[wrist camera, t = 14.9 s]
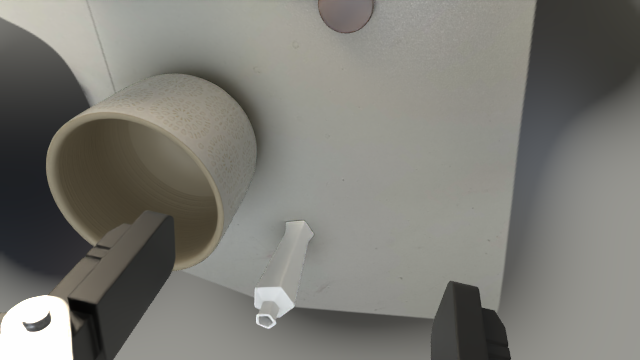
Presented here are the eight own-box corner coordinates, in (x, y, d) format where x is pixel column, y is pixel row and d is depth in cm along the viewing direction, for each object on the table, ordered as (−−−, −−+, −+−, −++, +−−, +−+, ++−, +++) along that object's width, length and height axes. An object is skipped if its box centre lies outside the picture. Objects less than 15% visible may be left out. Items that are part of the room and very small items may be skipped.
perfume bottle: (315, 249, 61) (287, 341, 48) (282, 242, 62) (246, 332, 49) (318, 220, 59) (289, 309, 46) (284, 214, 59) (246, 301, 46)
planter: (104, 100, 55) (8, 162, 43) (211, 28, 48) (134, 75, 36) (193, 209, 61) (133, 291, 49) (299, 158, 55) (261, 238, 42)
